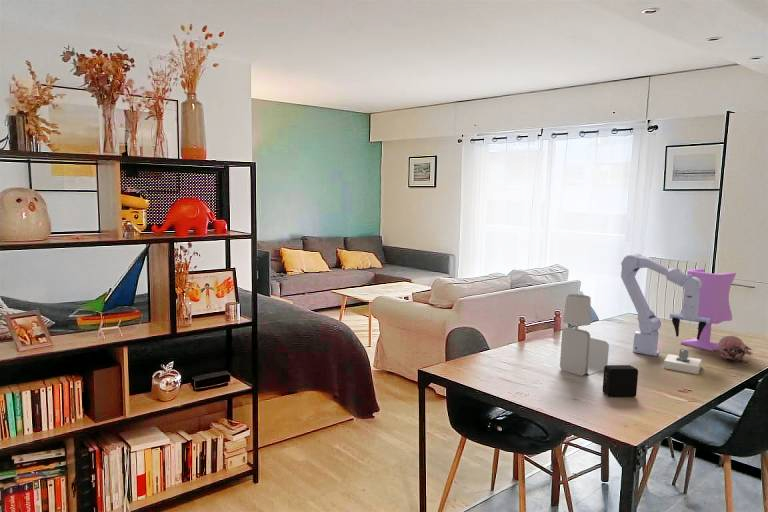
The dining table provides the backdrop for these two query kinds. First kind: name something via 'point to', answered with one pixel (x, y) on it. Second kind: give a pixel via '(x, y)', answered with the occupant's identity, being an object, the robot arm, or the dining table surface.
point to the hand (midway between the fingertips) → (687, 337)
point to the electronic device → (620, 381)
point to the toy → (733, 348)
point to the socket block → (682, 364)
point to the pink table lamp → (711, 305)
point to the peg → (683, 355)
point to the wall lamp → (581, 339)
